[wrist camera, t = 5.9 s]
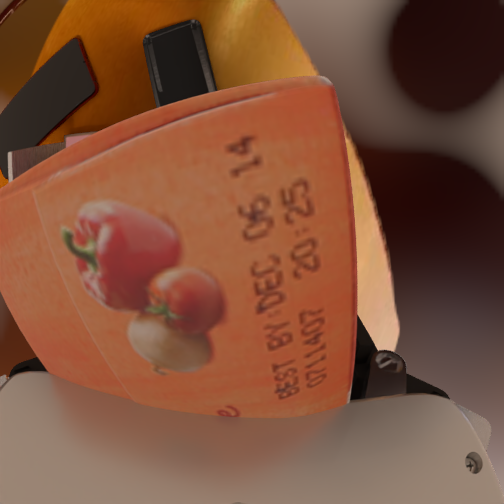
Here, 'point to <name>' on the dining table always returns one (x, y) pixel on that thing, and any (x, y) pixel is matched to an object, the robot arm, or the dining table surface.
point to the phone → (178, 63)
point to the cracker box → (195, 255)
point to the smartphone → (47, 100)
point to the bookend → (30, 158)
